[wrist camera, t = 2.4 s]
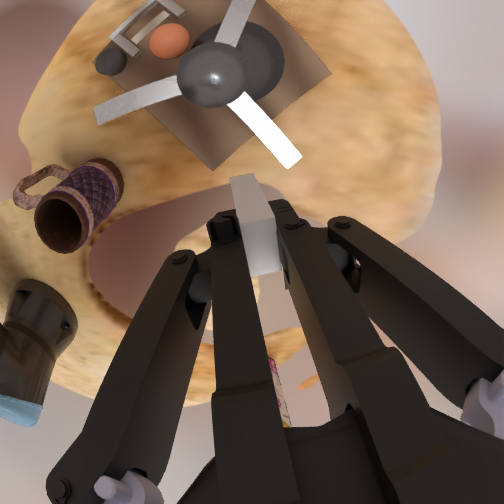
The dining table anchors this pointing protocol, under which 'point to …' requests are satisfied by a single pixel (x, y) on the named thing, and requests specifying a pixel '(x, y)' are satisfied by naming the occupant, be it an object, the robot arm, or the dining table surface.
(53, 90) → the dining table surface
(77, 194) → the mug
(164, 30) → the ball
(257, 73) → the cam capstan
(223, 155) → the walnut stand
